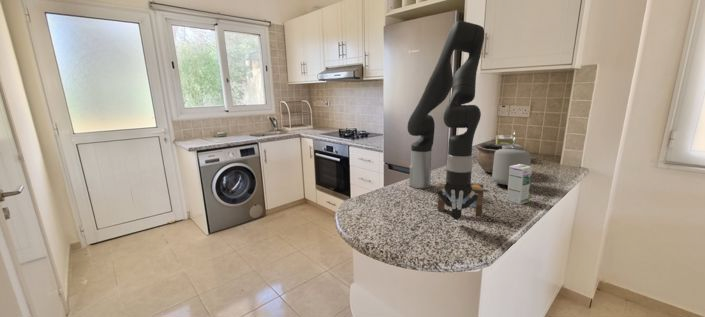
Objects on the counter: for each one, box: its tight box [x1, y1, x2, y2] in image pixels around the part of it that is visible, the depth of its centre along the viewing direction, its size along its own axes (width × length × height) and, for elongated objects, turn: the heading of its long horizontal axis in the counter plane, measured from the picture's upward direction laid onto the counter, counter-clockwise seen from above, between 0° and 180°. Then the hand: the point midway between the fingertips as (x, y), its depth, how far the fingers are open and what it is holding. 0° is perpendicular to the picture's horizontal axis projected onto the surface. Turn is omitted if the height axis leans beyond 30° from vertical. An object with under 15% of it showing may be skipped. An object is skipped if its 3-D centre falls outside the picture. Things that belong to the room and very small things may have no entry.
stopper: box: [471, 182, 484, 188], centre depth 133 cm, size 14×2×2 cm, turn 65°
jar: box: [491, 130, 532, 186], centre depth 134 cm, size 19×15×25 cm
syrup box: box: [506, 164, 533, 205], centre depth 115 cm, size 6×6×14 cm
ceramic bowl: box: [475, 141, 523, 174], centre depth 156 cm, size 22×22×15 cm
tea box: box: [495, 134, 516, 145], centre depth 186 cm, size 15×10×15 cm, turn 157°
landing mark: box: [446, 192, 477, 208], centre depth 120 cm, size 14×14×1 cm
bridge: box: [437, 183, 485, 218], centre depth 106 cm, size 3×15×10 cm, turn 65°
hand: (456, 218), depth 97 cm, fingers closed
